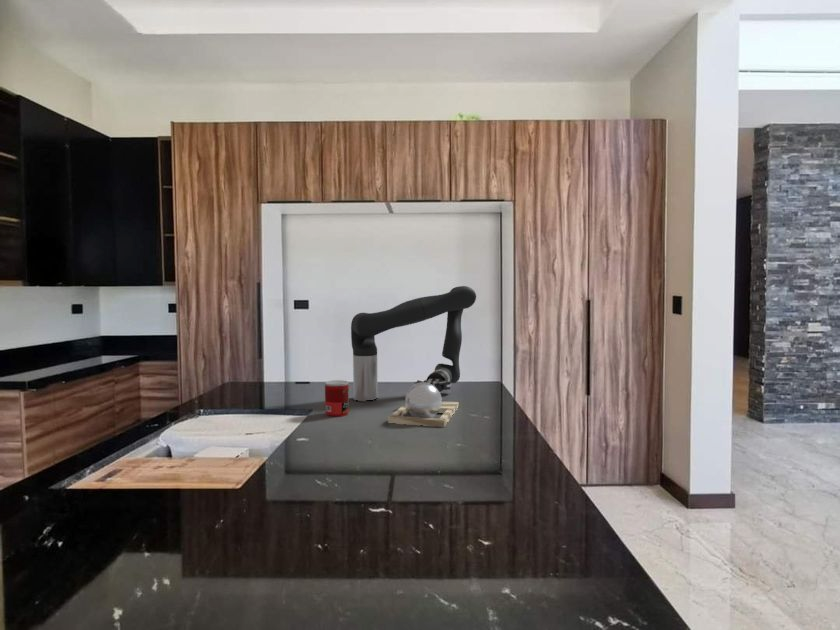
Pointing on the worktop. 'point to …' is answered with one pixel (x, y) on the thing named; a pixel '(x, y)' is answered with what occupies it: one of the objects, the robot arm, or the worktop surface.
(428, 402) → the ball
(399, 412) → the hole board
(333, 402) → the canned food
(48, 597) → the worktop surface
